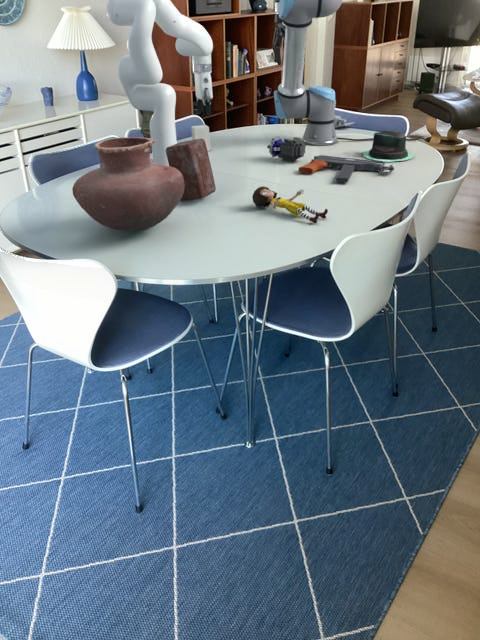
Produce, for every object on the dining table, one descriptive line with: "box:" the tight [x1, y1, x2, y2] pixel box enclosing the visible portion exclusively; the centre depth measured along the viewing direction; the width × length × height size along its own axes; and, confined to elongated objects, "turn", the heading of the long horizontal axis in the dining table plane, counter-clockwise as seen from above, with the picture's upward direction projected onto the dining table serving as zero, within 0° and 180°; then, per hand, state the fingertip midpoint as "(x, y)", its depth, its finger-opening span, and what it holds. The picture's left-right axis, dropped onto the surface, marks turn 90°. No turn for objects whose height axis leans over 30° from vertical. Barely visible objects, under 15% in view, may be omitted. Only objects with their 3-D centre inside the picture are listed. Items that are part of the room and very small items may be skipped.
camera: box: [334, 100, 355, 128], centre depth 275 cm, size 9×12×15 cm
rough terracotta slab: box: [166, 139, 217, 202], centre depth 188 cm, size 17×10×40 cm
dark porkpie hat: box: [362, 130, 414, 163], centre depth 226 cm, size 15×19×20 cm
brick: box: [190, 124, 211, 152], centre depth 241 cm, size 5×6×10 cm
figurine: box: [251, 185, 329, 224], centre depth 169 cm, size 13×8×25 cm
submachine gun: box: [298, 154, 395, 183], centre depth 205 cm, size 32×3×25 cm
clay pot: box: [72, 136, 185, 232], centre depth 155 cm, size 30×30×25 cm
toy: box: [266, 135, 306, 163], centre depth 223 cm, size 9×9×15 cm
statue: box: [138, 110, 154, 152], centre depth 237 cm, size 11×9×30 cm
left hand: (204, 113), depth 230 cm, fingers open, 9 cm apart
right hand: (282, 64), depth 265 cm, fingers open, 13 cm apart
